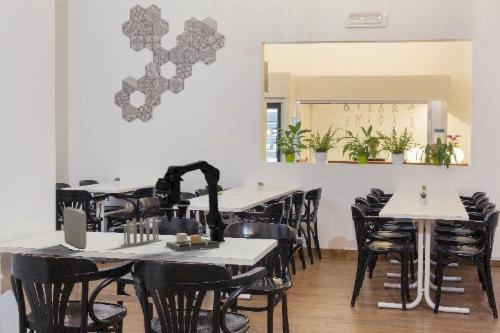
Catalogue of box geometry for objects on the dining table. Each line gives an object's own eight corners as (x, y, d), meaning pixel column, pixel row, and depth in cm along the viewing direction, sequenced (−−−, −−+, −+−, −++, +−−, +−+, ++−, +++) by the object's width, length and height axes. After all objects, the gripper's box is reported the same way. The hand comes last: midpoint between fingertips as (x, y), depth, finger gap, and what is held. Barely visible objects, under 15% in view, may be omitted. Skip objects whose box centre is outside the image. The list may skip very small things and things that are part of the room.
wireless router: (94, 250, 366) (93, 210, 365) (75, 252, 361) (74, 212, 360) (75, 242, 393) (74, 205, 392) (57, 243, 388) (56, 206, 386)
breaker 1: (183, 240, 379) (183, 233, 378) (187, 241, 375) (186, 234, 374) (176, 241, 377) (176, 233, 377) (179, 242, 373) (179, 234, 373)
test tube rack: (125, 246, 376) (125, 221, 375) (120, 246, 379) (119, 220, 378) (162, 240, 395) (161, 216, 394) (156, 240, 398) (156, 216, 397)
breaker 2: (197, 242, 372) (197, 234, 372) (201, 243, 368) (201, 235, 368) (190, 243, 370) (190, 235, 370) (193, 244, 366) (193, 236, 366)
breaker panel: (205, 242, 386) (205, 238, 386) (219, 247, 370) (219, 243, 370) (166, 246, 376) (166, 242, 376) (179, 251, 360) (179, 246, 360)
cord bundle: (216, 243, 372) (216, 240, 372) (218, 243, 370) (218, 240, 370) (178, 246, 362) (178, 243, 362) (179, 247, 360) (179, 244, 360)
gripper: (173, 188, 382) (174, 217, 383) (151, 191, 367) (151, 221, 367) (190, 189, 377) (191, 219, 378) (168, 192, 361) (168, 223, 362)
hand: (175, 220), depth 371 cm, fingers open, 9 cm apart
